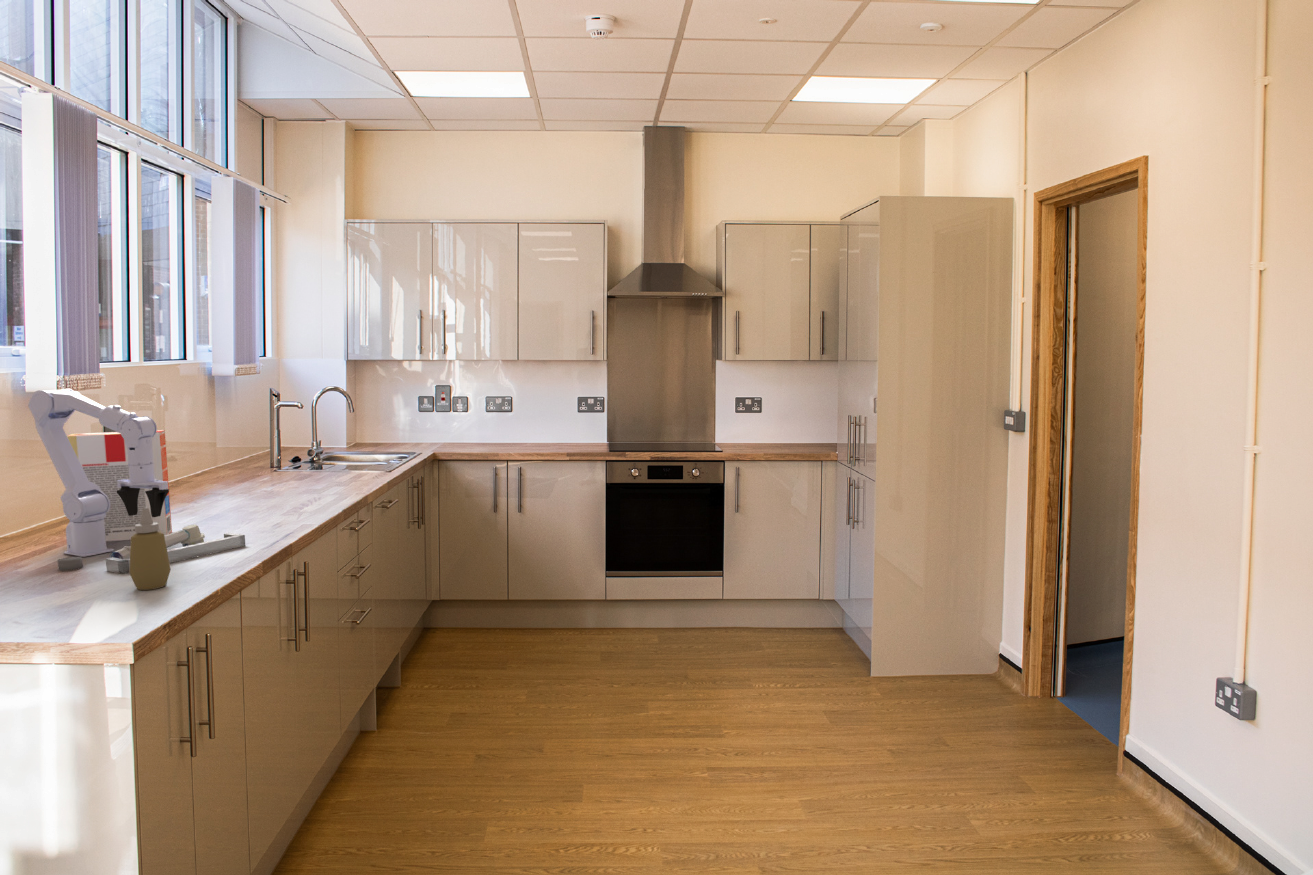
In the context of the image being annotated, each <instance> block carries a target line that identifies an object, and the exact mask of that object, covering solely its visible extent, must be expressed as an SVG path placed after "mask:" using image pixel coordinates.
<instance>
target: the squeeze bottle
mask: <svg viewBox="0 0 1313 875" xmlns="http://www.w3.org/2000/svg"><path fill="white" fill-rule="evenodd" d="M158 530H159V524H158V523H156V522H153V520H152V517H151V514H150V511H149V508H142V514H141V520H140V524H136V525H135V532H136V533H137V534H134V535H133V536H132V537H131V540H130V546H131V547H130V572H129V576H130V578H131V580H132V581H133V582H132V583H133V584H134V586H135V588H136V590H139V591H149V590H156V589H160V588H162V587H165V586H167V583H168V580H169V577H170V573H171V570H172V569H171V563H169V558H168V553H167V550H168V548H167V547H166V542H165V537H164V534H163V533H162V532H159V531H158Z"/></svg>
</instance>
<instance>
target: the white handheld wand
mask: <svg viewBox="0 0 1313 875" xmlns="http://www.w3.org/2000/svg"><path fill="white" fill-rule="evenodd" d="M164 537H165V542H166V547H167V549H168V548H171V547H173V546H175V545H178V544H182V547H185V546H189V545H194V544H199V543H203V542H205V541H204V539H205V537H206V535H205V534H204V533H201V531H200V528H199V525H198V524H190V525H187V526H184V527H183V528H182V530H177V531H174V532H171V533H170V534H167V535H164ZM130 547H131V545H129V546H127V545H124V546H123V548H120V549H118V550H114V551H111V554H110V555H109V558H112V557H113V558H119V559H129V558H130Z"/></svg>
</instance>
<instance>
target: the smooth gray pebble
mask: <svg viewBox="0 0 1313 875" xmlns="http://www.w3.org/2000/svg"><path fill="white" fill-rule="evenodd" d="M57 567H58V568H57V570H58V571H59V572H68V571H69V572H70V571H71V572H72V571H77V570H80V569H83V568H82V567H84V566H83V557H81V556H70V557H63V558H60V559H58V560H57ZM76 569H77V570H76Z"/></svg>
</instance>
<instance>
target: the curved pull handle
mask: <svg viewBox="0 0 1313 875" xmlns="http://www.w3.org/2000/svg"><path fill="white" fill-rule="evenodd" d="M241 546H243V547H246V535H245V534H241V533H233V532H226V533H224V534H223V537H222V538H219V539H218V538H217V539H213V540H209V541H204V542H203V543H199V544H194V545H189V546H185V547H183V546H181V547H176V548H171V549H167V553H168V558H169V563H170V564H171V563H176V562H175V561H177V562H180V561H181V562H182V561H185V560H184V559H186V560H189V559H193V558H198V557H197V556H199V557H202V556H206V555H207V554H208V555H212V554H216V553H219V552H225V551H229V549H230V550H233V549H232V548H234V549H238V548H242V547H241ZM224 550H225V551H224ZM215 552H216V553H215ZM105 568H106V572H111V573H117V574H120V575H121V574H122V575H123V574H128V573H129V572H130V558H129V559H119V558H113V557H112V558H110V557H107V558H105ZM129 574H130V573H129Z"/></svg>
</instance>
